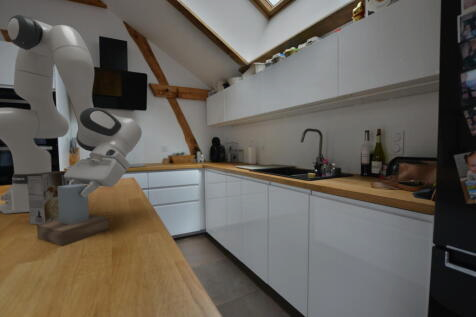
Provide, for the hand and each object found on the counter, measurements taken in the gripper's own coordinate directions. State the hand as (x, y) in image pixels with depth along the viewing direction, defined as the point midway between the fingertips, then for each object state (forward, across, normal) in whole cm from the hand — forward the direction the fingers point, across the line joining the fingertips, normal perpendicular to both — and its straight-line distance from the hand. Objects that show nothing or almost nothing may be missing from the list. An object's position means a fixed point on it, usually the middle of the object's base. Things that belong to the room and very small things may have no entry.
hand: (74, 195), depth 64 cm
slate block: (+5, 0, +5) cm, 7 cm away
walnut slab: (+8, 0, +8) cm, 11 cm away
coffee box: (+5, -20, +10) cm, 23 cm away
